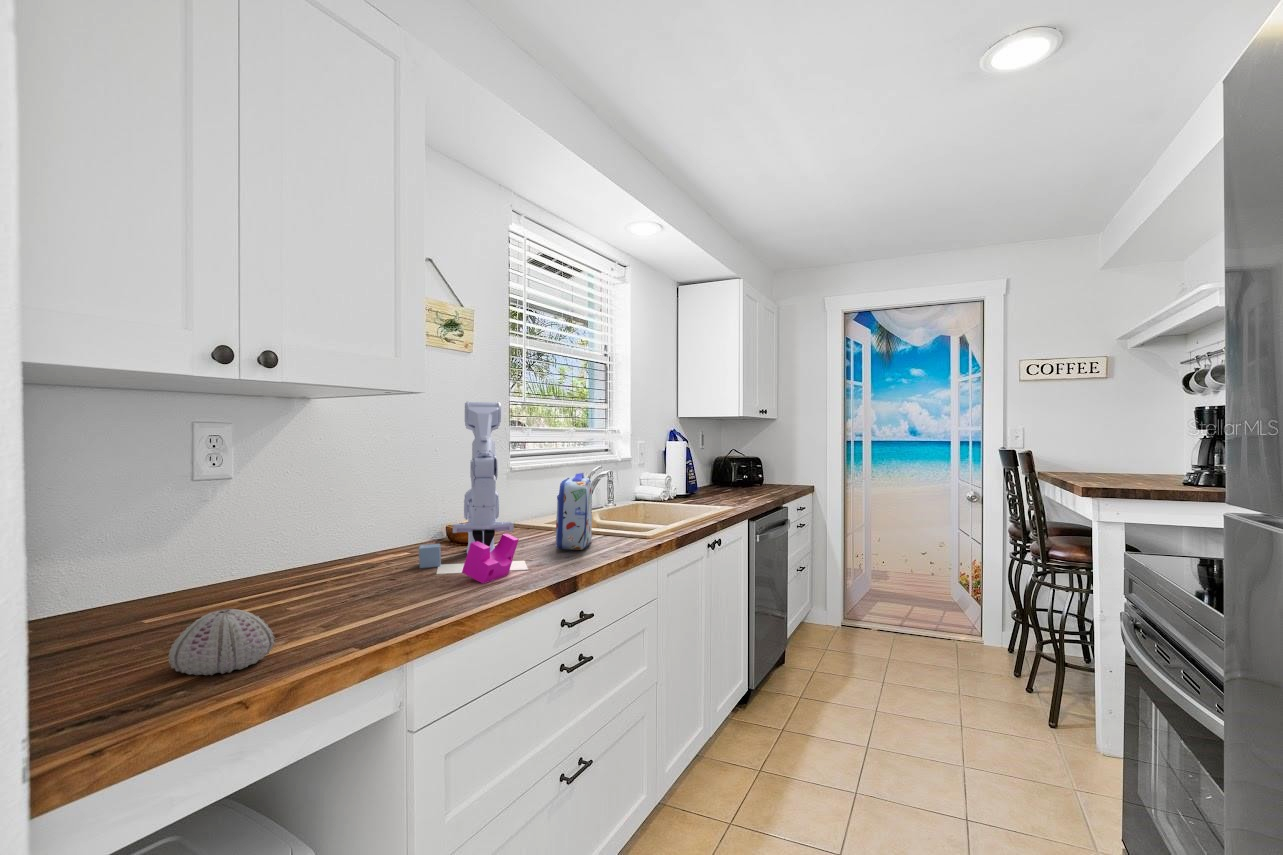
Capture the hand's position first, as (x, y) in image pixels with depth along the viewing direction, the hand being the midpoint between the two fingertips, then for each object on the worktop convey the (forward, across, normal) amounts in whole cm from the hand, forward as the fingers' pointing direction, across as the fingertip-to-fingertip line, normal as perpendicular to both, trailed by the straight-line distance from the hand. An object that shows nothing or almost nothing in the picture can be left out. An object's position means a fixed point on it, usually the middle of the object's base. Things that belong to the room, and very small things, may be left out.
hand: (483, 560), depth 158 cm
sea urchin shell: (+3, -39, -54) cm, 67 cm away
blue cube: (+3, -13, +11) cm, 17 cm away
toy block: (+2, +2, -4) cm, 5 cm away
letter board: (+3, 0, +6) cm, 6 cm away
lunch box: (+3, +28, +32) cm, 42 cm away
